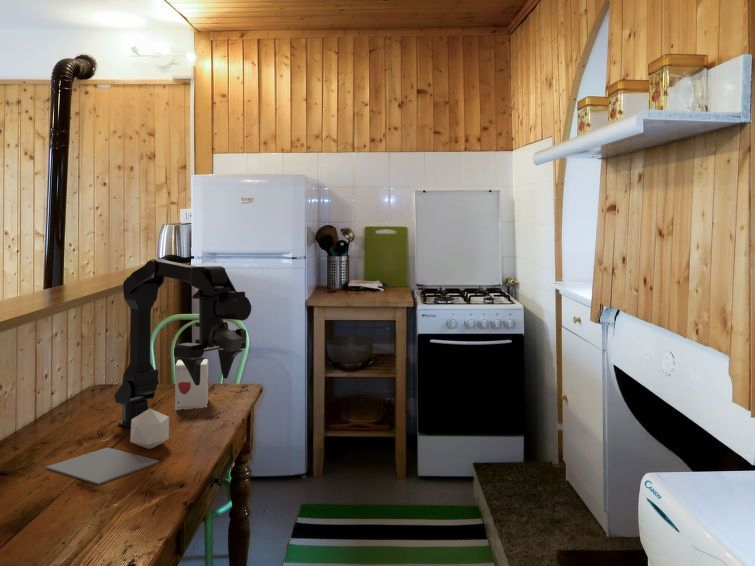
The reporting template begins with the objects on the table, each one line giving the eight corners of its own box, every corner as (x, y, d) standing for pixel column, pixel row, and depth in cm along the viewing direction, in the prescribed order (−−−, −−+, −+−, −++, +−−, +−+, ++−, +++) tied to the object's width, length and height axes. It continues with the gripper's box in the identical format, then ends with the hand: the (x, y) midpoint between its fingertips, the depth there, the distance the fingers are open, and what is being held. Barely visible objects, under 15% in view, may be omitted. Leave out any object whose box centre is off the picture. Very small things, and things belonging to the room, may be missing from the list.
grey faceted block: (177, 446, 145) (176, 405, 145) (152, 457, 137) (151, 414, 136) (148, 442, 148) (148, 402, 147) (122, 453, 139) (121, 411, 139)
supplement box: (174, 417, 170) (173, 365, 170) (177, 409, 179) (176, 359, 178) (207, 415, 173) (207, 363, 172) (208, 407, 181) (208, 358, 181)
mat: (46, 468, 129) (45, 466, 129) (107, 448, 142) (107, 447, 142) (99, 484, 121) (98, 483, 120) (159, 462, 134) (159, 460, 134)
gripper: (206, 324, 132) (207, 393, 133) (262, 316, 149) (262, 378, 149) (171, 320, 138) (172, 387, 139) (229, 313, 154) (229, 373, 155)
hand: (211, 381), depth 145 cm, fingers open, 9 cm apart
